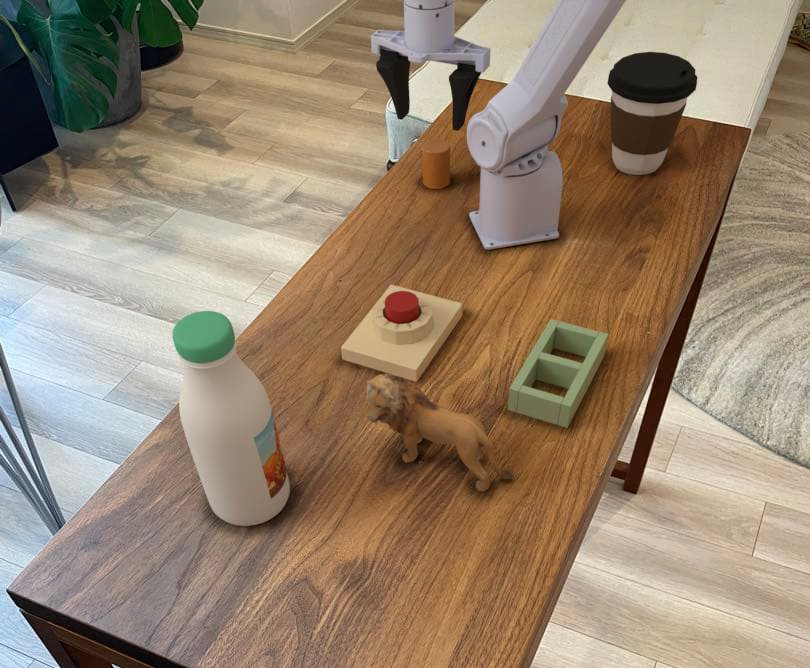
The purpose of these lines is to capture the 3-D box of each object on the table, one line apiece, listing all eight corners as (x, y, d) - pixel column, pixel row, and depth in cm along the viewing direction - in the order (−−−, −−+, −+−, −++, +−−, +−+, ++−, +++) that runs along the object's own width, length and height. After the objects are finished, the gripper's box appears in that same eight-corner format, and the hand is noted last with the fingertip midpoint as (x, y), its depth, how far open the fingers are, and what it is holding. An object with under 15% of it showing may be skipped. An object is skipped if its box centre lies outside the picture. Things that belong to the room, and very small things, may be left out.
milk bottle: (257, 541, 76) (207, 374, 60) (193, 508, 78) (128, 340, 63) (307, 485, 80) (272, 314, 64) (244, 456, 82) (195, 285, 66)
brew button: (394, 300, 91) (394, 287, 90) (424, 309, 90) (424, 295, 89) (379, 320, 89) (378, 306, 88) (410, 328, 88) (409, 315, 87)
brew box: (391, 296, 97) (389, 270, 94) (462, 315, 94) (462, 289, 91) (342, 359, 90) (338, 334, 88) (416, 382, 88) (415, 356, 85)
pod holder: (604, 356, 89) (608, 333, 87) (567, 428, 83) (570, 406, 80) (547, 340, 91) (550, 318, 88) (507, 410, 85) (509, 388, 82)
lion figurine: (360, 461, 81) (352, 393, 74) (381, 424, 84) (375, 355, 77) (505, 500, 77) (510, 432, 70) (521, 460, 80) (528, 391, 73)
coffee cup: (687, 151, 113) (709, 57, 104) (666, 191, 107) (687, 96, 98) (609, 136, 116) (623, 44, 107) (584, 175, 111) (597, 81, 101)
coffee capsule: (446, 173, 112) (446, 136, 108) (452, 187, 110) (453, 150, 106) (420, 177, 112) (419, 140, 108) (426, 191, 110) (425, 154, 106)
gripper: (355, 4, 93) (364, 125, 104) (474, 23, 89) (471, 147, 100) (383, -20, 97) (389, 100, 108) (499, -3, 93) (493, 120, 103)
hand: (430, 121), depth 104 cm, fingers open, 7 cm apart
